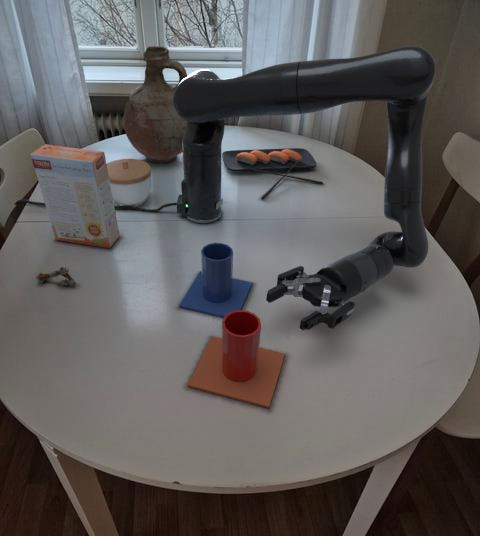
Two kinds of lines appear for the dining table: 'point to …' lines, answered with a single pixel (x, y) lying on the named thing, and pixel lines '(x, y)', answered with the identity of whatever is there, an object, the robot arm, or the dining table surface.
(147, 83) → the jug
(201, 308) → the blue mat
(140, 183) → the lidded bowl
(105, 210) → the cracker box
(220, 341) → the terracotta mat
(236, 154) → the sushi plate
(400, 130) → the robot arm
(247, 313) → the red cup
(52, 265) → the dining table surface
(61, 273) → the chicken wing bone
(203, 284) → the blue cup
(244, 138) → the dining table surface
